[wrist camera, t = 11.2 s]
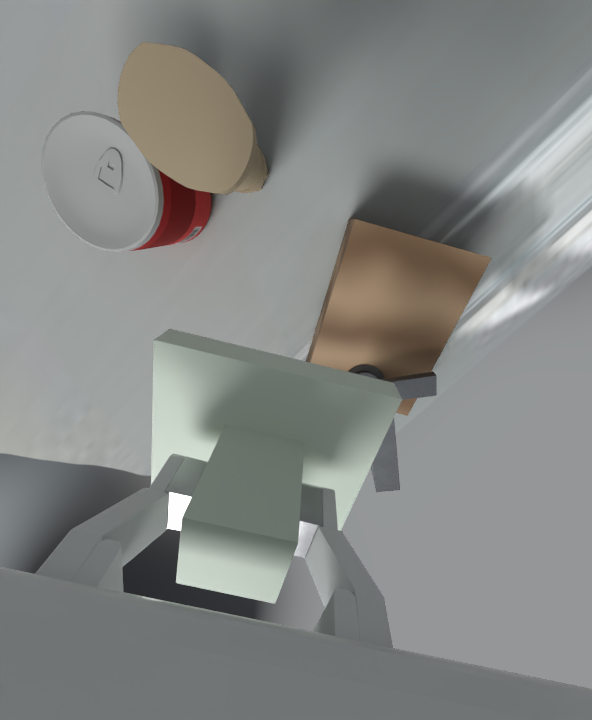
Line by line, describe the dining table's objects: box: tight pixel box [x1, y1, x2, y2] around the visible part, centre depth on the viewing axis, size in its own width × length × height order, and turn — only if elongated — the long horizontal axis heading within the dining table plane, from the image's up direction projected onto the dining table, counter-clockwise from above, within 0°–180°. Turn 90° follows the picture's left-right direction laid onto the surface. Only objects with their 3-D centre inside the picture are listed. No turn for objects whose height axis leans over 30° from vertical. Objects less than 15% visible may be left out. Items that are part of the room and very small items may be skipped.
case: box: [306, 219, 491, 416], centre depth 30 cm, size 17×12×5 cm
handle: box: [118, 42, 269, 195], centre depth 20 cm, size 5×6×15 cm
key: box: [355, 371, 436, 492], centre depth 25 cm, size 8×7×10 cm
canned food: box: [42, 111, 211, 252], centre depth 23 cm, size 8×8×11 cm
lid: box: [151, 329, 402, 603], centre depth 11 cm, size 9×9×5 cm
